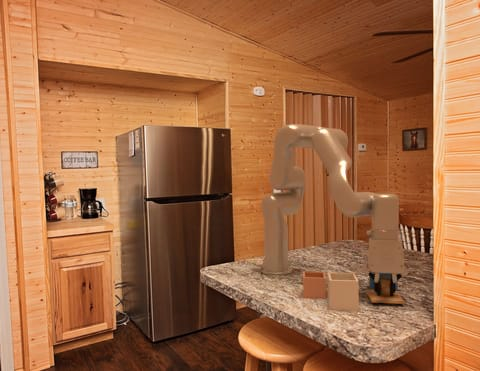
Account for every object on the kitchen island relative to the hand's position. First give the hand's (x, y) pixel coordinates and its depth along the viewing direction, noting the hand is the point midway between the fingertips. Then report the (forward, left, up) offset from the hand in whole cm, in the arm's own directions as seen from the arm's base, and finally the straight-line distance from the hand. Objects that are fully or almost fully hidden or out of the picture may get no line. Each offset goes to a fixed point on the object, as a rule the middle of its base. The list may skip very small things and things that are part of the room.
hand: (384, 293), depth 112 cm
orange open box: (-21, +3, -3) cm, 21 cm away
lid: (0, 0, -1) cm, 1 cm away
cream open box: (-13, -5, -3) cm, 14 cm away
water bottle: (+2, +12, -3) cm, 12 cm away
